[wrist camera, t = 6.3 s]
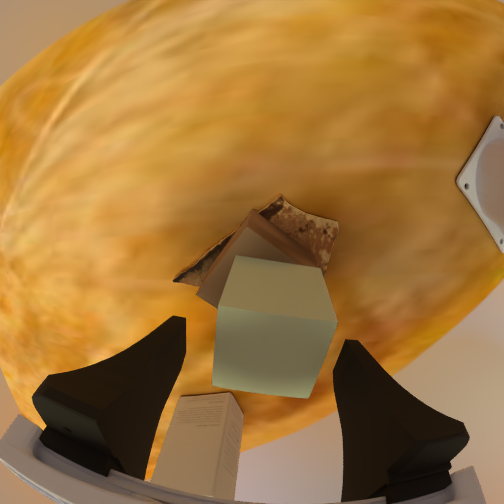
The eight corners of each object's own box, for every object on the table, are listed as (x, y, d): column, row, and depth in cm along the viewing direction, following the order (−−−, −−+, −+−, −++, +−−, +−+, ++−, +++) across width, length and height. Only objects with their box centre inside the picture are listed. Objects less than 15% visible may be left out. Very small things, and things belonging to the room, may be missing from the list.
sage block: (320, 268, 15) (338, 322, 10) (302, 335, 16) (308, 398, 12) (236, 255, 15) (218, 305, 10) (227, 324, 16) (211, 385, 12)
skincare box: (195, 417, 28) (171, 508, 16) (177, 393, 26) (143, 490, 15) (247, 413, 27) (234, 514, 15) (232, 388, 25) (212, 499, 14)
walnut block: (313, 254, 19) (322, 281, 15) (268, 305, 20) (266, 339, 17) (252, 209, 18) (246, 226, 14) (210, 266, 20) (196, 294, 16)
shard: (177, 273, 22) (170, 283, 20) (187, 176, 19) (179, 179, 18) (313, 299, 22) (316, 311, 20) (339, 204, 19) (345, 210, 18)
